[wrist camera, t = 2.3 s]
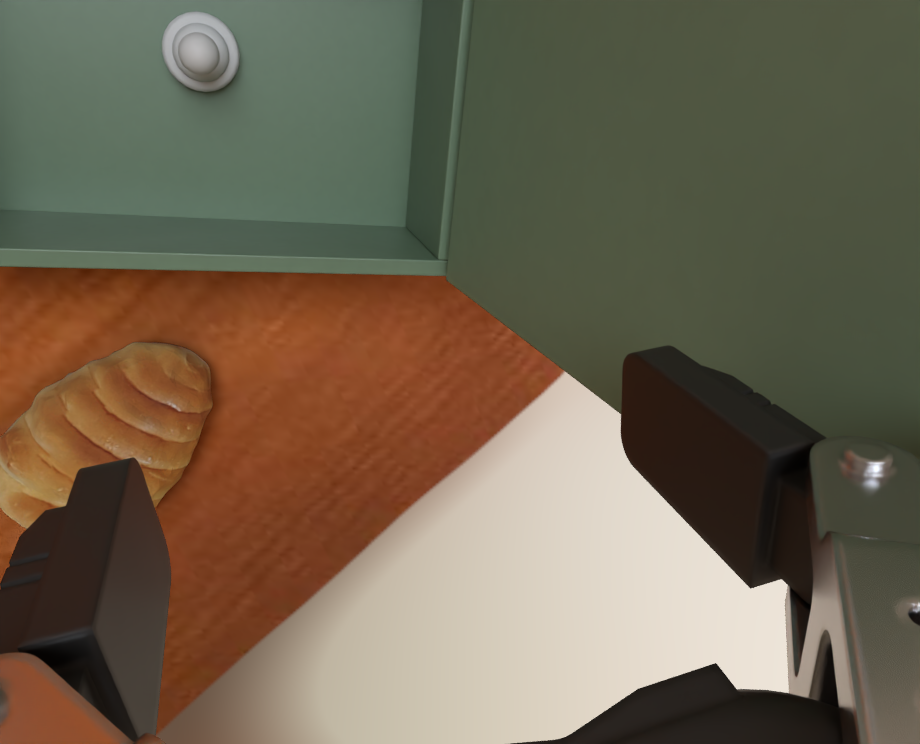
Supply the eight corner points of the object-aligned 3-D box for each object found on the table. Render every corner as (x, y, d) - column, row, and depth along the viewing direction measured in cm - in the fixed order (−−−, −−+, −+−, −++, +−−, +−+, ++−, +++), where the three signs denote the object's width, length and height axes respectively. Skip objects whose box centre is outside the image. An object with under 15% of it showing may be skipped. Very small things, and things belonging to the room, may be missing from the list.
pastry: (123, 293, 29) (110, 327, 25) (254, 388, 32) (258, 428, 29) (-25, 453, 30) (-55, 505, 26) (118, 529, 33) (107, 583, 30)
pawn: (253, 67, 26) (258, 72, 23) (193, 104, 26) (189, 114, 23) (210, -3, 25) (207, -10, 21) (146, 35, 25) (133, 35, 21)
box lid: (898, 629, 11) (932, 618, 11) (1491, -676, 6) (1522, -626, 6) (445, 280, 26) (465, 279, 26) (490, -162, 20) (514, -155, 21)
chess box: (-40, 220, 26) (-106, 264, 21) (-117, -227, 21) (-230, -316, 16) (414, 237, 31) (452, 276, 26) (442, -116, 26) (497, -155, 21)
